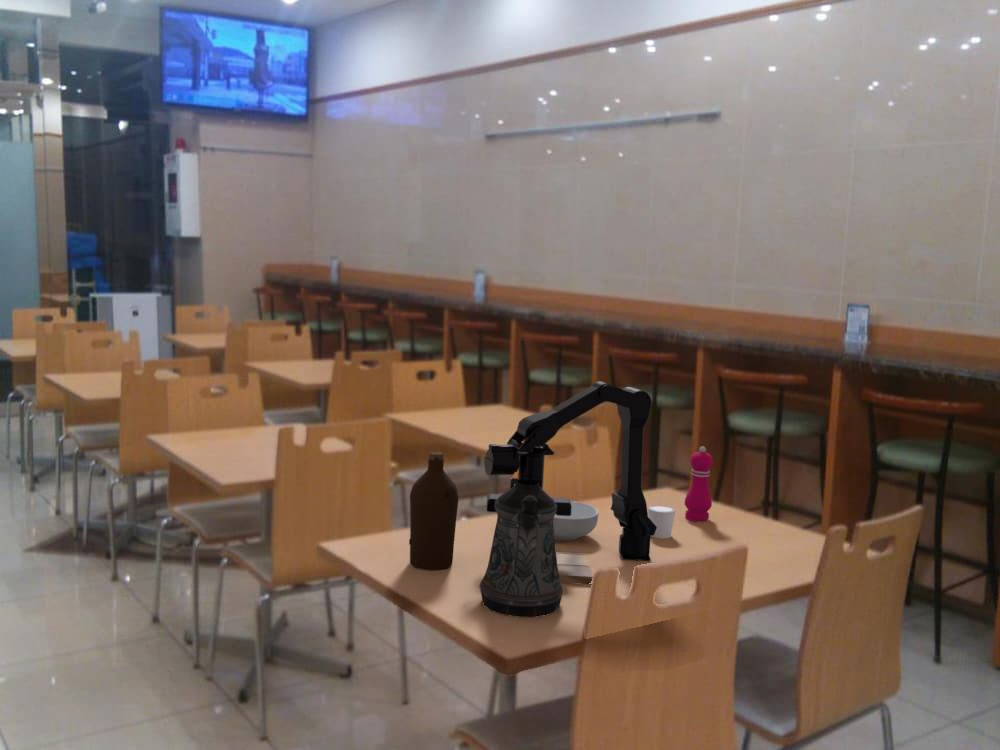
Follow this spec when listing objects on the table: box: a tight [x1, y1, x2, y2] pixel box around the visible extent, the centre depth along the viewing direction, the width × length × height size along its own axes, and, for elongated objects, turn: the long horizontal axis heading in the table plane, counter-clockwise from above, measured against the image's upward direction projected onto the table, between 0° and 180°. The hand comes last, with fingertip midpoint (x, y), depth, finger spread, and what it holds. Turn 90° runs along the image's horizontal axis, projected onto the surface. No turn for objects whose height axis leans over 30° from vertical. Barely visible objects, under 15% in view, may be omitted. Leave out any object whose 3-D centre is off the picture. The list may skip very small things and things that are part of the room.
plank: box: [556, 551, 588, 566], centre depth 225 cm, size 17×7×2 cm, turn 90°
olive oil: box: [408, 450, 460, 571], centre depth 221 cm, size 11×11×25 cm
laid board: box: [557, 565, 594, 585], centre depth 218 cm, size 18×7×2 cm, turn 90°
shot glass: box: [647, 504, 676, 540], centre depth 254 cm, size 7×7×7 cm
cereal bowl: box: [553, 500, 599, 541], centre depth 249 cm, size 17×17×7 cm
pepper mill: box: [684, 445, 714, 522], centre depth 271 cm, size 7×7×20 cm
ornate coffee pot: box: [479, 479, 564, 618], centre depth 198 cm, size 16×19×25 cm
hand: (526, 542), depth 226 cm, fingers closed
